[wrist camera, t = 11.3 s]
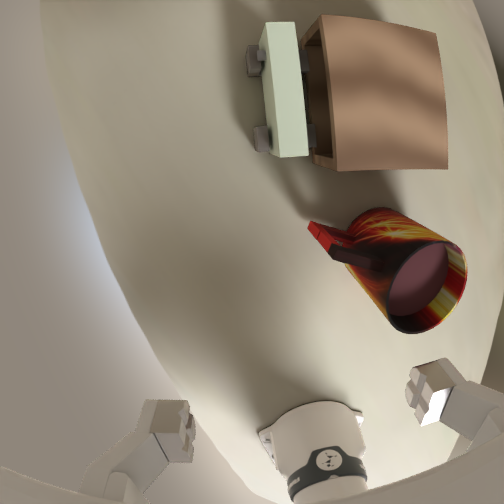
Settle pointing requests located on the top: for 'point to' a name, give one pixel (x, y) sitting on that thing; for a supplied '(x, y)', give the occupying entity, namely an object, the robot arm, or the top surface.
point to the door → (283, 90)
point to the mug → (399, 266)
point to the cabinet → (369, 95)
